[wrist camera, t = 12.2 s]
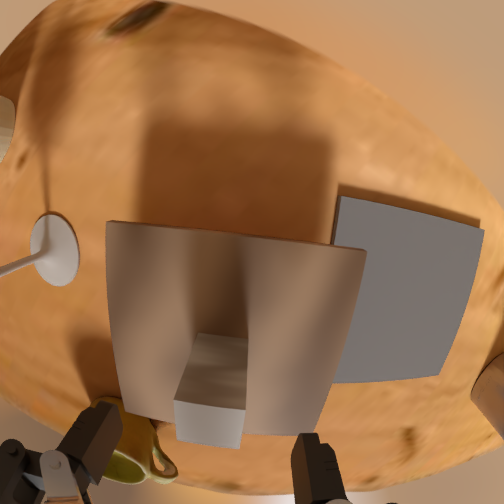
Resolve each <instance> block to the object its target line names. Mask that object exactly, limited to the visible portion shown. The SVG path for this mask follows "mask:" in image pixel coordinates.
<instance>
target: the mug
mask: <svg viewBox="0 0 504 504" xmlns="http://www.w3.org/2000/svg"><path fill="white" fill-rule="evenodd" d="M100 400H104V401H107V402H110V403H113V404H116V405H117V406H118V409H119V413H120V417H121V420H122V424H123V432H122V436H121V438H120V440H119V442H118V444H117V446H116V448H115V450H114V452H113V455H112V457H111V459H110V461H109V463H108V465H107V467H106V469H105V471H104V474H103V476H102V477H104V478H106V479H110V480H113V481H117V482H120V483H124V484H138V483H141V482H142V481H145V479H146V478H151V479H153V480H154V481H156V482H158V483H161V484H168V483H170V482H172V481H173V480H175V479H176V478H177V477H178V470H177V467H176V466H175V465H174V463H173V462H172V461H171V460H170V459H169V458H168V456H167V455H166V454H165V453H164V452H163V451H162V449H161V448H160V445H159V440H158V436H157V433H156V431H155V429H154V427H153V426H152V424H151V422H150V420H149V418H148V417H144V416H140V415H136V414H133V413H129V412H126V411H125V408H124V404H123V400H122V399H120V398H116V397H109V396H105V397H101V398H98V399H96V400H94V401H93V402H92V403H91V405H90V407H93V408H95V407H96V405H97V404H98V402H99V401H100ZM152 452H153V453H154V454H155V455H156V457H157V458H158V459H159V462H160V463H161V464H162V465H163V466H164V468H165V470H164V471H160V470H158V469H157V468H156V467H155V464H154V460H153V455H152Z"/></svg>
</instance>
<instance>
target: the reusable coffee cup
mask: <svg viewBox="0 0 504 504" xmlns="http://www.w3.org/2000/svg"><path fill="white" fill-rule="evenodd" d="M14 126H15V107H14V104H13V102H12V101H11V100H10V99H7V98H5V97H3V96H1V95H0V163H1V161H2V160H3V158H4V156H5V154H6V152H7V150H8V148H9V145H10V142H11V139H12V136H13V132H14Z"/></svg>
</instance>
